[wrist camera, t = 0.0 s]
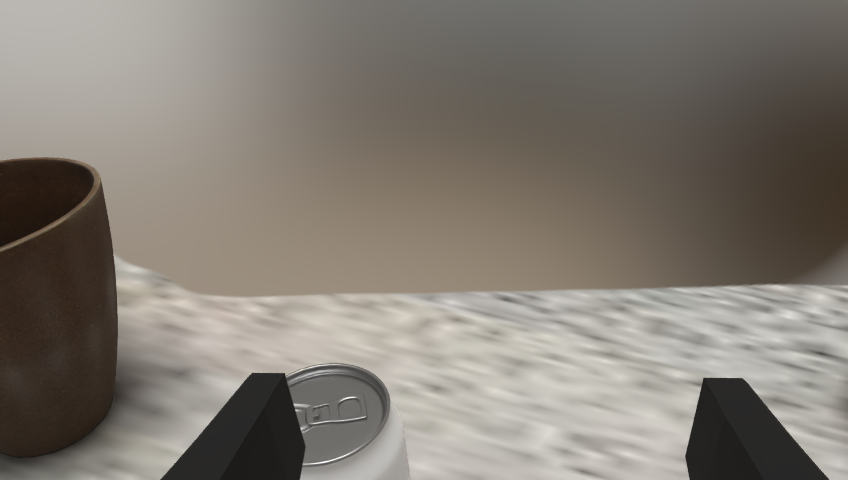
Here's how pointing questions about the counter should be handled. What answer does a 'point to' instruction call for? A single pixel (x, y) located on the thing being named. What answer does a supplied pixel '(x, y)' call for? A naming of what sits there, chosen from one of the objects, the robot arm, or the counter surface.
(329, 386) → the can
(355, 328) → the counter surface
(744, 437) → the robot arm
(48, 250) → the plant pot
